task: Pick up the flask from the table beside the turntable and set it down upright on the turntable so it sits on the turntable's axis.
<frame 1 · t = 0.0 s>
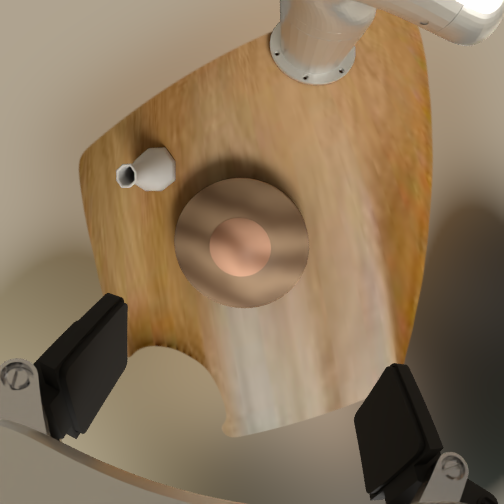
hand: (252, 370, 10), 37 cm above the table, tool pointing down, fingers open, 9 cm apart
flask: (156, 169, 44), on the table
turntable: (240, 246, 45), point 2 cm above the table, hinge at 0.0°
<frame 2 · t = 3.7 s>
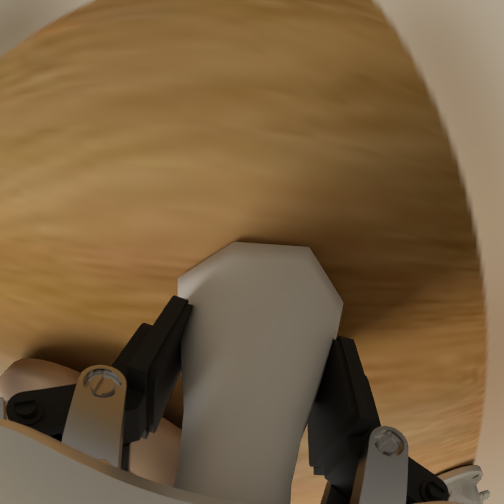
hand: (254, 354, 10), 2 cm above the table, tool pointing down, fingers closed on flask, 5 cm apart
flask: (259, 315, 13), on the table, touching gripper
turntable: (102, 464, 16), point 2 cm above the table, hinge at 0.0°
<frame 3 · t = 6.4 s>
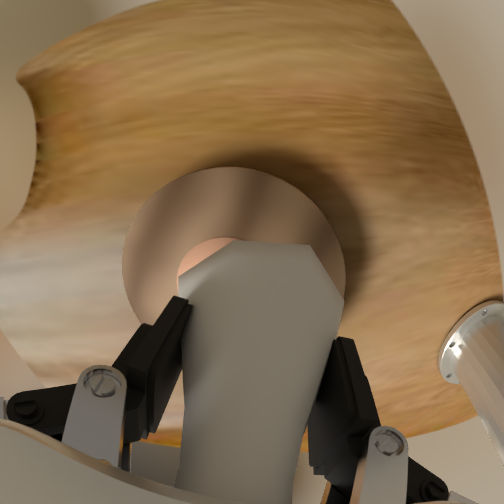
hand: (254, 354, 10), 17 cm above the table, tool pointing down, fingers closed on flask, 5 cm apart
flask: (260, 314, 13), point 15 cm above the table, touching gripper
turntable: (229, 283, 26), point 2 cm above the table, hinge at 0.0°
when the fingers open (7 cm above the table, at t = 9.1 s): flask drops 1 cm, resting on turntable.
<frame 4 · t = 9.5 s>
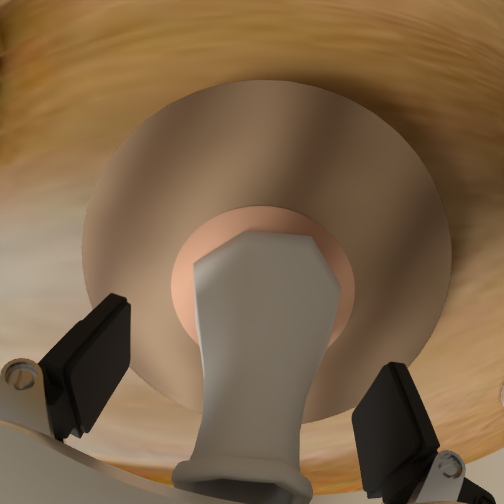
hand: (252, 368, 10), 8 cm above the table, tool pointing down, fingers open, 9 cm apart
flask: (266, 298, 14), point 3 cm above the table, touching turntable
turntable: (262, 291, 15), point 2 cm above the table, hinge at 0.0°, touching flask
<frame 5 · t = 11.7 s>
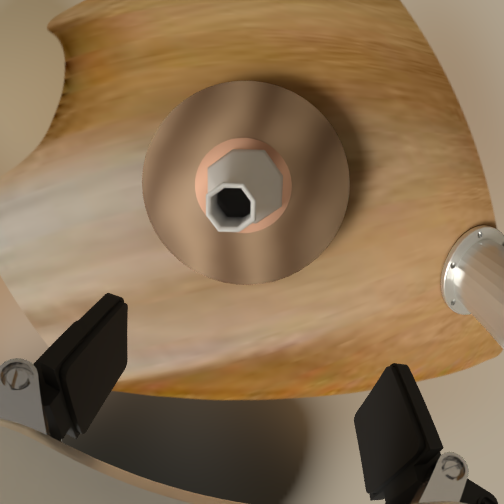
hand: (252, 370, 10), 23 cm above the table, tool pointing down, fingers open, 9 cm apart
flask: (245, 186, 27), point 3 cm above the table, touching turntable
turntable: (243, 184, 28), point 2 cm above the table, hinge at 0.0°, touching flask
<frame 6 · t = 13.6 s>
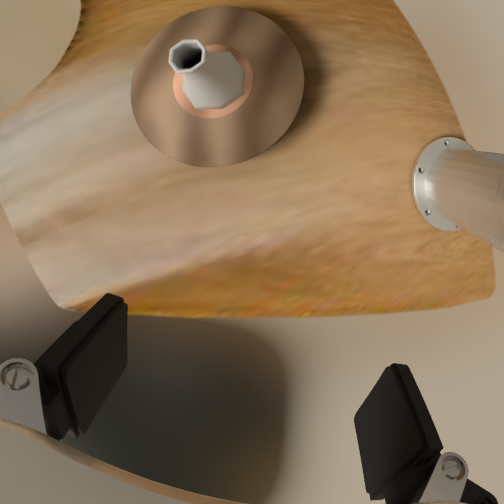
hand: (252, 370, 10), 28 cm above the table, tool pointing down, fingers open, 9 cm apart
flask: (213, 80, 29), point 3 cm above the table, touching turntable
turntable: (213, 81, 29), point 2 cm above the table, hinge at 0.0°, touching flask
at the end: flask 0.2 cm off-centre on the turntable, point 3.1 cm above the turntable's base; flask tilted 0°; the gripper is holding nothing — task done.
